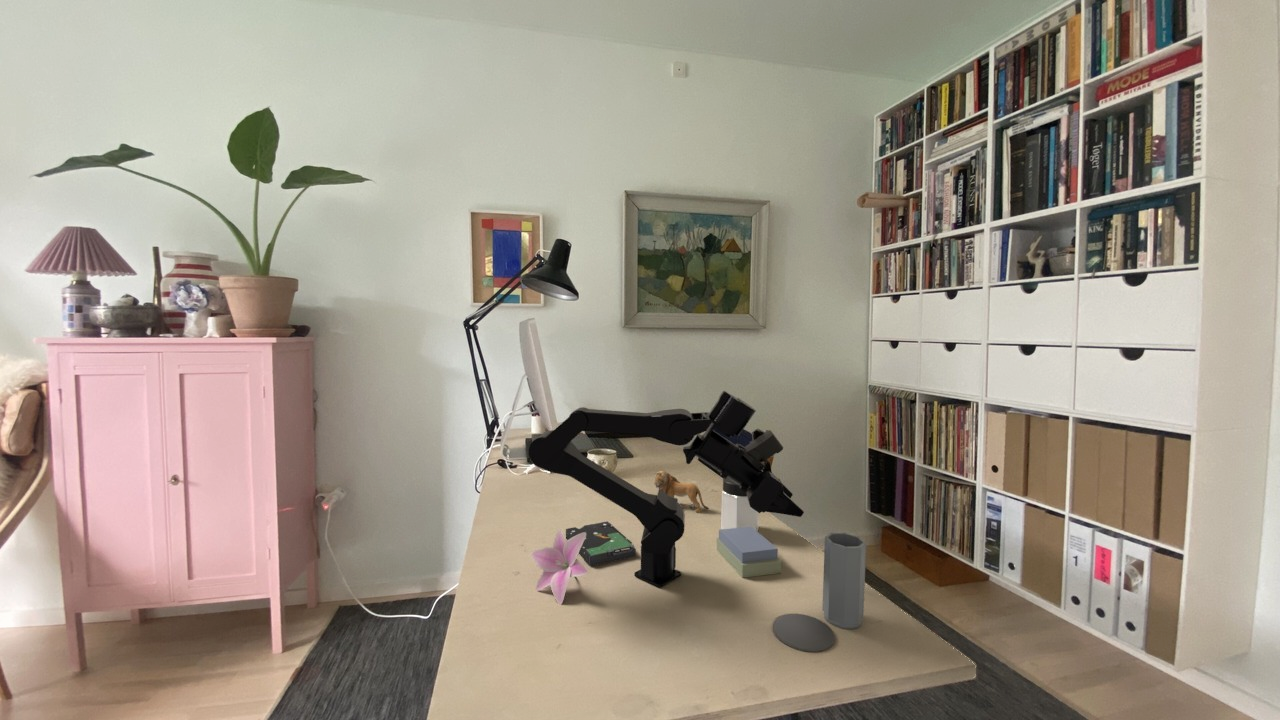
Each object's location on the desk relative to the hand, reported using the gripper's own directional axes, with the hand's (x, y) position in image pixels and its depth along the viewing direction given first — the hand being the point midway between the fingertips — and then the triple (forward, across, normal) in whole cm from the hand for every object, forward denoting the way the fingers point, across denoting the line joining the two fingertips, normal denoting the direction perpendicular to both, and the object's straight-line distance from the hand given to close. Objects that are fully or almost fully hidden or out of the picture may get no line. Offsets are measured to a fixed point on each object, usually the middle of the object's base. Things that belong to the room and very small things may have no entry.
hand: (796, 504), depth 90 cm
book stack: (+2, +8, +16) cm, 18 cm away
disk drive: (-24, +11, +34) cm, 43 cm away
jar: (+2, +23, +17) cm, 29 cm away
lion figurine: (-10, +37, +24) cm, 45 cm away
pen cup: (+12, -10, +9) cm, 19 cm away
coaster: (+6, -15, +13) cm, 21 cm away
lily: (-27, -6, +35) cm, 45 cm away
